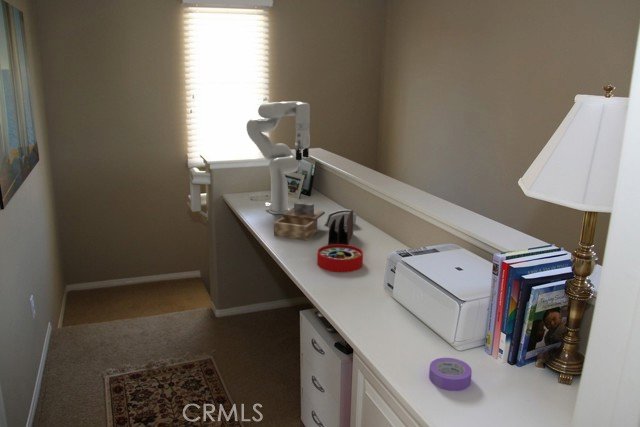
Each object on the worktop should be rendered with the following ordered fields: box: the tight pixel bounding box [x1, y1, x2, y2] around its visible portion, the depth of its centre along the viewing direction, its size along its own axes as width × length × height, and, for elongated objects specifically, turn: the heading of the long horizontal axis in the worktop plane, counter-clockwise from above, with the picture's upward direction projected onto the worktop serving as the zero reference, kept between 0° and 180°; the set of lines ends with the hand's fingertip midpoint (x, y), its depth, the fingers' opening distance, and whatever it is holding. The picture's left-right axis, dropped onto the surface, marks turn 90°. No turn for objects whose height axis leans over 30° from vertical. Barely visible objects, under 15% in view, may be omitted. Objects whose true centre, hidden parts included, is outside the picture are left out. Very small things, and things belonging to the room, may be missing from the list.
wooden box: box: [273, 216, 318, 241], centre depth 284 cm, size 18×14×7 cm
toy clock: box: [316, 244, 364, 273], centre depth 245 cm, size 20×6×20 cm
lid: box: [282, 201, 326, 221], centre depth 292 cm, size 18×14×6 cm
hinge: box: [324, 209, 357, 228], centre depth 300 cm, size 17×5×10 cm, turn 114°
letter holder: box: [327, 209, 354, 245], centre depth 277 cm, size 10×20×14 cm, turn 170°
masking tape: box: [428, 357, 473, 392], centre depth 160 cm, size 12×12×4 cm
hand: (302, 158), depth 301 cm, fingers open, 9 cm apart
